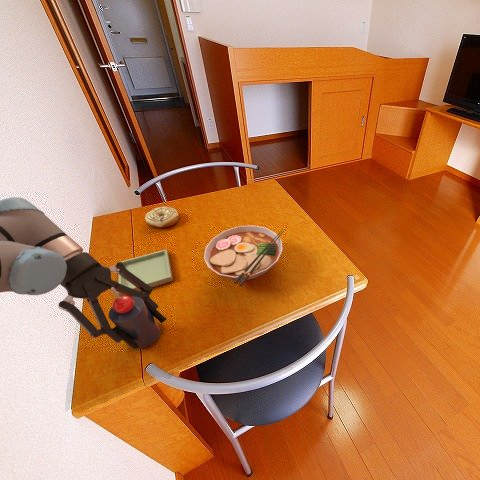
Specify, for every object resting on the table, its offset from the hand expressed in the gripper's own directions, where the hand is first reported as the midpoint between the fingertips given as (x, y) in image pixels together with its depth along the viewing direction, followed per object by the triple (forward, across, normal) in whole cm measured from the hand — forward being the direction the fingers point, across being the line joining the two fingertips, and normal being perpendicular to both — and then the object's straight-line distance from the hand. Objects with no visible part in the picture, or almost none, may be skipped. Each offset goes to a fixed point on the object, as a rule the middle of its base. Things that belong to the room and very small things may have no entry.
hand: (150, 333), depth 64 cm
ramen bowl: (+6, -31, +1) cm, 31 cm away
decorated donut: (-23, -36, -29) cm, 51 cm away
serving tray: (-12, -15, -17) cm, 25 cm away
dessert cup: (0, 0, -5) cm, 5 cm away
